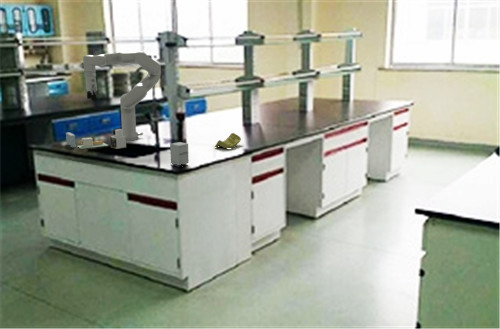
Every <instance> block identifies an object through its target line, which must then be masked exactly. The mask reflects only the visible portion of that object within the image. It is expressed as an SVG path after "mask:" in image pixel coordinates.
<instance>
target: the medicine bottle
mask: <svg viewBox="0 0 500 329" xmlns="http://www.w3.org/2000/svg"><path fill="white" fill-rule="evenodd" d="M122 135H123V132H122V128H114V129H112V135H111V136H110V137H109V138H110V148H113V149H115V150H117V149H124V148H127V142H126V141H127V140H126V137H125V136H122Z"/></svg>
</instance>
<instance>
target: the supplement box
mask: <svg viewBox="0 0 500 329" xmlns="http://www.w3.org/2000/svg"><path fill="white" fill-rule="evenodd" d="M169 145H170V146H169V147H170V148H169V149H170V164H171V163H172V164H177V165H181V164H186V163H189V143H186V142H181V141H178V142H173V143H170V144H169Z"/></svg>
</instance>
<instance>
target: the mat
mask: <svg viewBox="0 0 500 329" xmlns="http://www.w3.org/2000/svg"><path fill="white" fill-rule="evenodd" d="M108 146H109V144H107V143H105V142H103V144H98V145H93V146H89V147H83V146H82V145H81V144H80V145H76V148H78V147H79V149H80V150H83V149H93V148H101V147H108Z"/></svg>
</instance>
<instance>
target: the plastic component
mask: <svg viewBox="0 0 500 329" xmlns="http://www.w3.org/2000/svg"><path fill="white" fill-rule="evenodd" d="M241 141H242V138H241V136H239V135H238V134H236V133H235V132H231V133H230V135H229V136H228V137H227V138H226V139H224V140H221V139H220V140H218V141H217V142H216V144H215V146H214V148H215V147H218V146H220V147H222V148H224V149H225V148H232V147H233V148H235V147H236V145H237V146H238V144H239V143H240V142H241ZM234 146H235V147H234ZM218 148H219V147H218ZM233 148H232V149H233Z"/></svg>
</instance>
